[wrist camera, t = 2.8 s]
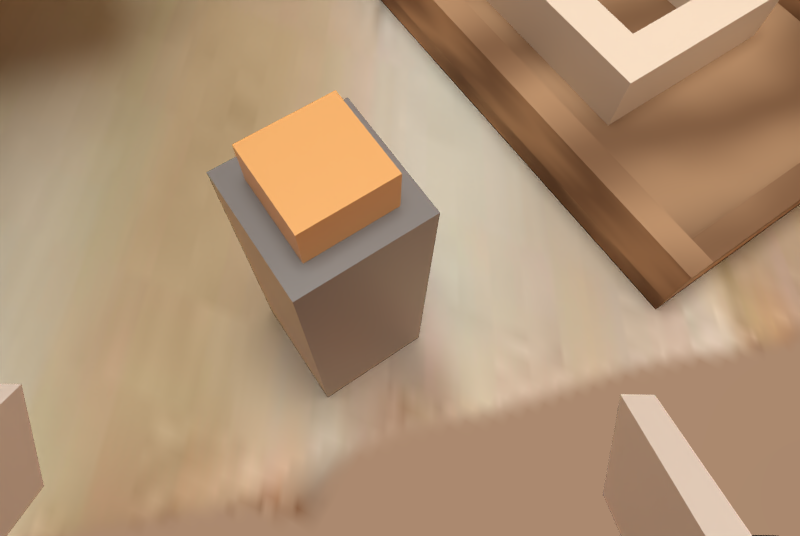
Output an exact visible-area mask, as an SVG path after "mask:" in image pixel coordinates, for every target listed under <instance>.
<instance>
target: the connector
mask: <svg viewBox="0 0 800 536" xmlns="http://www.w3.org/2000/svg"><path fill="white" fill-rule="evenodd" d="M232 146H233V149H234V152H235V154H236V157H234V158H233V159H231V160H229V161H227V162H225V163H223V164H221V165H219V166H218V167H216V168H214V169H212V170H210V171H208V172H207V174H208V177H209V179H210V181H211V183H212V185H213V187H214V189H215V191H216V193H217V196H218V198H219V200H220V202H221V204H222V206H223V208H224V210H225V213H226V215H227V217H228V219H229V221H230V223H231V225H232V227H233V230H234V232H235V234H236V236H237V238H238V240H239V242H240V244H241V246H242V249H243V251H244V253H245V255H246V257H247V259H248V261H249V263H250V266H251V268H252V270H253V272H254V274H255V276H256V278H257V280H258V283H259V285H260V287H261V289H262V291H263V293H264V295H265V297H266V300H267V302H268V304H269V306H270V308H271V310H272V312H273V313H274V315H275V316H276V318H277V319H278V321H279V323H280V324H281V326H282V327H283V329H284V330H285V332H286V333H287V335H288V337H289V338H290V340H291V341H292V343H293V344H294V346H295V347H296V349H297V350H298V352H299V354H300V355H301V357H302V358H303V360H304V361H305V363H306V364H307V366H308V368H309V369H310V371H311V372H312V374H313V375H314V377H315V378H316V380H317V381H318V383H319V385H320V386H321V388H322V389H323V391H324V392H325V394H326V395H327V397H329V396H331V395H332V394H334V393H335V392H337V391H338V390H340V389H341V388H343V387H344V386H346V385H347V384H349V383H350V382H352V381H353V380H355V379H356V378H358V377H359V376H361V375H362V374H364V373H365V372H367V371H368V370H370V369H371V368H373V367H374V366H376V365H377V364H379V363H380V362H382V361H383V360H385V359H387V358H388V357H390V356H391V355H393V354H394V353H396V352H397V351H399V350H400V349H402V348H403V347H405V346H406V345H408V344H409V343H411V342H412V341H414V340H415V339H417V338H418V337H419V331H420V326H421V320H422V314H423V308H424V302H425V296H426V291H427V285H428V279H429V273H430V267H431V262H432V256H433V250H434V244H435V238H436V233H437V227H438V221H439V215H440V212H439V211H438V210H437V209H436V207H435V206H434V205H433V204H432V202H431V201H430V200H429V199H428V197H427V196H426V195H425V194H424V192H423V191H422V190H421V189H420V187H419V186H418V185H417V184H416V182H415V181H414V180H413V179H412V177H411V176H410V175H409V174H408V172H407V171H406V170H405V169H404V167H403V166H402V165H401V164H400V162H399V161H398V160H397V159H396V157H395V156H394V155H393V154H392V152H391V151H390V150H389V149H388V147H387V146H386V145H385V144H384V142H383V141H382V140H381V139H380V137H379V136H378V135H377V134H376V132H375V131H374V130H373V129H372V127H371V126H370V125H369V124H368V122H367V121H366V120H365V119H364V117H363V116H362V115H361V114H360V112H359V111H358V110H357V109H356V107H355V106H354V105H353V104H352V102H351V101H350V100H349V99H348V98H346V99H344V100H343V99H342V98H341V96H340V95H339V94H338V93H337V91H336V90H335V91H333V92H331V93H329V94H327V95H326V96H324V97H322V98H320V99H318V100H316V101H314V102H312V103H310V104H308V105H307V106H305V107H303V108H301V109H299V110H297V111H295V112H293V113H291V114H289V115H287V116H286V117H284V118H282V119H280V120H278V121H276V122H274V123H272V124H270V125H268V126H266V127H265V128H263V129H261V130H259V131H257V132H255V133H253V134H251V135H249V136H247V137H245V138H244V139H242V140H240V141H238V142H236V143H234V144H232Z"/></svg>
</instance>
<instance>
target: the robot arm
mask: <svg viewBox="0 0 800 536" xmlns="http://www.w3.org/2000/svg"><path fill="white" fill-rule="evenodd" d="M43 487H44V485H43V480H42V476H41V471H40V466H39V462H38V457H37V453H36V448H35V444H34V439H33V435H32V430H31V426H30V421H29V417H28V412H27V408H26V403H25V398H24V394H23V389H22V385H21V384H0V536H7V535H8V533H9V532H10V531H11V529H12V528H13V527H14V525H15V524H16V523H17V521H18V520H19V519H20V517H21V516H22V515H23V513H24V512H25V511H26V509H27V508H28V507H29V505H30V504H31V503H32V501H33V500H34V499H35V497H36V496H37V495H38V493H39V492H40V491H41V489H42V488H43ZM603 496H604V498H605V500H606V503H607V505H608V507H609V509H610V512H611V514H612V516H613V518H614V521H615V523H616V525H617V528H618V530H619V532H620V535H621V536H770V535H751V533H750V532H749V530H748V529H747V528H746V526H745V525H744V523H743V522H742V520H741V519H740V517H739V516H738V515H737V513H736V512H735V510H734V509H733V507H732V506H731V504H730V503H729V501H728V500H727V499H726V497H725V496H724V494H723V493H722V491H721V490H720V489H719V487H718V486H717V484H716V483H715V481H714V480H713V478H712V477H711V475H710V474H709V473H708V472H707V470H706V468H705V467H704V465H703V464H702V463H701V461H700V460H699V458H698V457H697V455H696V454H695V452H694V451H693V449H692V448H691V447H690V445H689V444H688V442H687V441H686V439H685V438H684V436H683V435H682V433H681V432H680V431H679V429H678V428H677V426H676V425H675V423H674V422H673V421H672V419H671V418H670V416H669V415H668V413H667V412H666V411H665V409H664V407H663V406H662V405H661V403H660V402H659V400H658V399H657V397H656V396H655V395H630V394H626V395H625V394H621V395H620V400H619V406H618V412H617V417H616V423H615V428H614V435H613V440H612V445H611V451H610V457H609V463H608V468H607V474H606V480H605V486H604V491H603ZM773 536H774V535H773Z"/></svg>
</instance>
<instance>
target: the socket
mask: <svg viewBox="0 0 800 536" xmlns="http://www.w3.org/2000/svg"><path fill="white" fill-rule="evenodd" d="M487 1H488V2H489V3H490V4H491V5H492V6H493V7H494V8H495V9H496V10H497V12H498V13H499V14H500V15H501V16H502V17H503V18H504V19H505V20H506V21H507V22H508V23H509V24H510V25H511V26H512V27H513V28H514V29H515V30H516V31H517V32H518V33H519V34H520V35H521V36H522V37H523V38H524V39H525V40H526V41H527V42H528V43H529V44H530V46H531V47H532V48H533V49H534V50H535V51H536V52H537V53H538V54H539V55H540V56H541V57H542V58H543V59H544V60H545V61H546V62H547V63H548V64H549V65H550V66H551V67H552V68H553V69H554V70H555V71H556V72H557V73H558V74H559V75H560V76H561V77H562V78H563V79H564V81H565V82H566V83H567V84H568V85H569V86H570V87H571V88H572V89H573V90H574V91H575V92H576V93H577V94H578V95H579V96H580V97H581V98H582V99H583V100H584V101H585V102H586V103H587V104H588V105H589V106H590V107H591V108H592V109H593V110H594V111H595V112H596V113H597V114H598V116H599V117H600V118H601V119H602V120H603V121H604V122H605V123H606V124H607V125H610V124H611V123H613V122H615V121H616V120H618V119H619V118H621V117H623V116H624V115H626V114H628V113H629V112H631V111H632V110H634V109H636V108H637V107H639V106H640V105H642V104H644V103H645V102H647V101H649V100H650V99H652V98H653V97H655V96H657V95H658V94H660V93H662V92H663V91H665V90H666V89H668V88H670V87H671V86H673V85H675V84H676V83H678V82H679V81H681V80H683V79H684V78H686V77H687V76H689V75H691V74H692V73H694V72H696V71H697V70H699V69H700V68H702V67H704V66H705V65H707V64H709V63H710V62H712V61H713V60H715V59H717V58H718V57H720V56H722V55H723V54H725V53H726V52H728V51H730V50H731V49H733V48H735V47H736V46H738V45H739V44H741V43H743V42H744V41H746V40H747V39H749V38H751V37H752V36H754V34H755V33H756V32H757V30H758V29H759V27H760V26H761V25H762V23H763V22H764V21H765V19H766V18H767V16H768V15H769V14H770V12H771V11H772V10H773V8H774V7H775V5H776V4H777V3H778V1H779V0H668V1H669V2H670V3H671V4H672V5H673V6H675V7H676V8H677V9H675V10H673V11H672V12H670V13H668V14H667V15H665V16H663V17H661V18H660V19H658V20H656V21H654V22H653V23H651V24H649V25H648V26H646V27H644V28H642V29H641V30H639V31H637V32H635V33H634V34H633V33H632V32H631V31H629V30H628V29H627V28H626V27H625V26H624V25H623V24H622V23H621V22H620V21H619V20H618V19H617V18H616V17H615V16H614V15H613V14H611V13H610V12H609V11H608V10H607V9H606V8H605V7H604V6H603V5H602V4H601V3H600V2H599V1H598V0H487Z"/></svg>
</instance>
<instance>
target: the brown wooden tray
mask: <svg viewBox="0 0 800 536" xmlns="http://www.w3.org/2000/svg"><path fill="white" fill-rule="evenodd" d="M598 1H599V2H600V3H601V4H602V5H603V6H604V7H605V8H606V9H607V10H608V11H609V12H610V13H611V14H613V15H614V16H615V17H616V18H617V19H618V20H619V21H620V22H621V23H622V24H623V25H624V26H625V27H626V28H627V29H628V30H629V31H631V32H632V33H633V34H634V33H635V32H637V31H639V30H641V29H642V28H644V27H646V26H648V25H649V24H651V23H653V22H654V21H656V20H658V19H660V18H661V17H663V16H665V15H667V14H668V13H670V12H672V11H673V10H675V9H677V8H676V7H675V6H673V5H672V4H671V3H670V2H669V1H668V0H598ZM382 2H383V3H384V4H385V5H386V6H387V7H388V8H389V9H390V11H391V12H392V13H393V14H394V15H395V16H396V17H397V18H398V20H399V21H400V22H401V23H402V24H403V25H404V26H405V27H406V29H407V30H408V31H409V32H410V33H411V34H412V35H413V36H414V38H415V39H416V40H417V41H418V42H419V43H420V44H421V45H422V47H423V48H424V49H425V50H426V51H427V52H428V53H429V54H430V56H431V57H432V58H433V59H434V60H435V61H436V62H437V63H438V65H439V66H440V67H441V68H442V69H443V70H444V71H445V72H446V74H447V75H448V76H449V77H450V78H451V79H452V80H453V81H454V83H455V84H456V85H457V86H458V87H459V88H460V89H461V90H462V92H463V93H464V94H465V95H466V96H467V97H468V98H469V99H470V101H471V102H472V103H473V104H474V105H475V106H476V107H477V108H478V110H479V111H480V112H481V113H482V114H483V115H484V116H485V117H486V119H487V120H488V121H489V122H490V123H491V124H492V125H493V126H494V128H495V129H496V130H497V131H498V132H499V133H500V134H501V135H502V137H503V138H504V139H505V140H506V141H507V142H508V143H509V144H510V146H511V147H512V148H513V149H514V150H515V151H516V152H517V153H518V155H519V156H520V157H521V158H522V159H523V160H524V161H525V162H526V164H527V165H528V166H529V167H530V168H531V169H532V170H533V171H534V173H535V174H536V175H537V176H538V177H539V178H540V179H541V180H542V182H543V183H544V184H545V185H546V186H547V187H548V188H549V189H550V191H551V192H552V193H553V194H554V195H555V196H556V197H557V198H558V200H559V201H560V202H561V203H562V204H563V205H564V206H565V207H566V209H567V210H568V211H569V212H570V213H571V214H572V215H573V216H574V218H575V219H576V220H577V221H578V222H579V223H580V224H581V225H582V227H583V228H584V229H585V230H586V231H587V232H588V233H589V234H590V236H591V237H592V238H593V239H594V240H595V241H596V242H597V243H598V245H599V246H600V247H601V248H602V249H603V250H604V251H605V252H606V254H607V255H608V256H609V257H610V258H611V259H612V260H613V261H614V263H615V264H616V265H617V266H618V267H619V268H620V269H621V270H622V272H623V273H624V274H625V275H626V276H627V277H628V278H629V279H630V281H631V282H632V283H633V284H634V285H635V286H636V287H637V288H638V290H639V291H640V292H641V293H642V294H643V295H644V296H645V297H646V299H647V300H648V301H649V302H650V303H651V304H652V305H653V306H654V308H655V309H657V308H658V307H659V306H661V305H662V304H664V303H665V302H666V301H668V300H669V299H670V298H672V297H673V296H674V295H676V294H677V293H679V292H680V291H681V290H683V289H684V288H685V287H687V286H688V285H690V284H691V283H692V282H694V281H695V280H696V279H698V278H699V277H701V276H702V275H703V274H705V273H706V272H707V271H709V270H710V269H711V268H713V267H714V266H716V265H717V264H718V263H720V262H721V261H722V260H724V259H725V258H727V257H728V256H729V255H731V254H732V253H733V252H735V251H736V250H738V249H739V248H740V247H742V246H743V245H744V244H746V243H747V242H749V241H750V240H751V239H753V238H754V237H755V236H757V235H758V234H759V233H761V232H762V231H764V230H765V229H766V228H768V227H769V226H770V225H772V224H773V223H775V222H776V221H777V220H779V219H780V218H781V217H783V216H784V215H786V214H787V213H788V212H790V211H791V210H792V209H794V208H795V207H797V206H798V205H799V204H800V0H779V1H778V3H777V4H776V5H775V7H774V8H773V10H772V11H771V12H770V14H769V15H768V16H767V18H766V19H765V21H764V22H763V23H762V25H761V26H760V27H759V29H758V30H757V32H756V33H755V34H754V36H752V37H751V38H749V39H747V40H746V41H744V42H743V43H741V44H739V45H738V46H736V47H735V48H733V49H731V50H730V51H728V52H726V53H725V54H723V55H722V56H720V57H718V58H717V59H715V60H713V61H712V62H710V63H709V64H707V65H705V66H704V67H702V68H700V69H699V70H697V71H696V72H694V73H692V74H691V75H689V76H687V77H686V78H684V79H683V80H681V81H679V82H678V83H676V84H675V85H673V86H671V87H670V88H668V89H666V90H665V91H663V92H662V93H660V94H658V95H657V96H655V97H653V98H652V99H650V100H649V101H647V102H645V103H644V104H642V105H640V106H639V107H637V108H636V109H634V110H632V111H631V112H629V113H628V114H626V115H624V116H623V117H621V118H619V119H618V120H616V121H615V122H613V123H611V124H610V125H607V124H606V123H605V122H604V121H603V120H602V119H601V118H600V117H599V116H598V114H597V113H596V112H595V111H594V110H593V109H592V108H591V107H590V106H589V105H588V104H587V103H586V102H585V101H584V100H583V99H582V98H581V97H580V96H579V95H578V94H577V93H576V92H575V91H574V90H573V89H572V88H571V87H570V86H569V85H568V84H567V83H566V82H565V81H564V79H563V78H562V77H561V76H560V75H559V74H558V73H557V72H556V71H555V70H554V69H553V68H552V67H551V66H550V65H549V64H548V63H547V62H546V61H545V60H544V59H543V58H542V57H541V56H540V55H539V54H538V53H537V52H536V51H535V50H534V49H533V48H532V47H531V46H530V44H529V43H528V42H527V41H526V40H525V39H524V38H523V37H522V36H521V35H520V34H519V33H518V32H517V31H516V30H515V29H514V28H513V27H512V26H511V25H510V24H509V23H508V22H507V21H506V20H505V19H504V18H503V17H502V16H501V15H500V14H499V13H498V12H497V10H496V9H495V8H494V7H493V6H492V5H491V4H490V3H489V2H488V1H487V0H382Z"/></svg>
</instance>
